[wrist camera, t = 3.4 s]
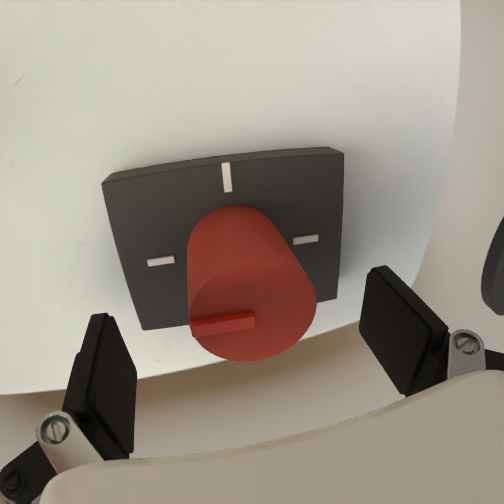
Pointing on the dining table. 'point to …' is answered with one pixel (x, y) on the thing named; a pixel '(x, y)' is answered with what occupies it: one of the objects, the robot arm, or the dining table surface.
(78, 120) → the dining table surface
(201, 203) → the dark tick-marked fixture
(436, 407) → the robot arm
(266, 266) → the near red knob
